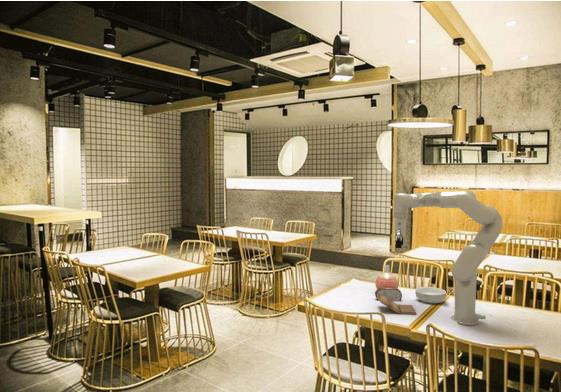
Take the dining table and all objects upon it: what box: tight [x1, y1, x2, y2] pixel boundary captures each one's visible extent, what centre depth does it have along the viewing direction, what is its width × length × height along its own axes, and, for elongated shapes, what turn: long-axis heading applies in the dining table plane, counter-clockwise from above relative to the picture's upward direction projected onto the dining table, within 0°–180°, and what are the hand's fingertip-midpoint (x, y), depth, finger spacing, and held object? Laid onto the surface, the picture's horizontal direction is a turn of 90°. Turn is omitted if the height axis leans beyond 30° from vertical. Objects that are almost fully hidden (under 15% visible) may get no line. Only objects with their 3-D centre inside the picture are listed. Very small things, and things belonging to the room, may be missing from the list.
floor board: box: [398, 303, 417, 316], centre depth 216 cm, size 22×13×2 cm, turn 82°
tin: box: [374, 287, 403, 302], centre depth 233 cm, size 15×3×8 cm, turn 84°
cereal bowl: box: [414, 286, 447, 304], centre depth 233 cm, size 17×17×7 cm
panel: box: [378, 294, 401, 315], centre depth 216 cm, size 11×12×2 cm
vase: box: [374, 264, 399, 290], centre depth 250 cm, size 14×14×18 cm
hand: (399, 246), depth 222 cm, fingers open, 9 cm apart
